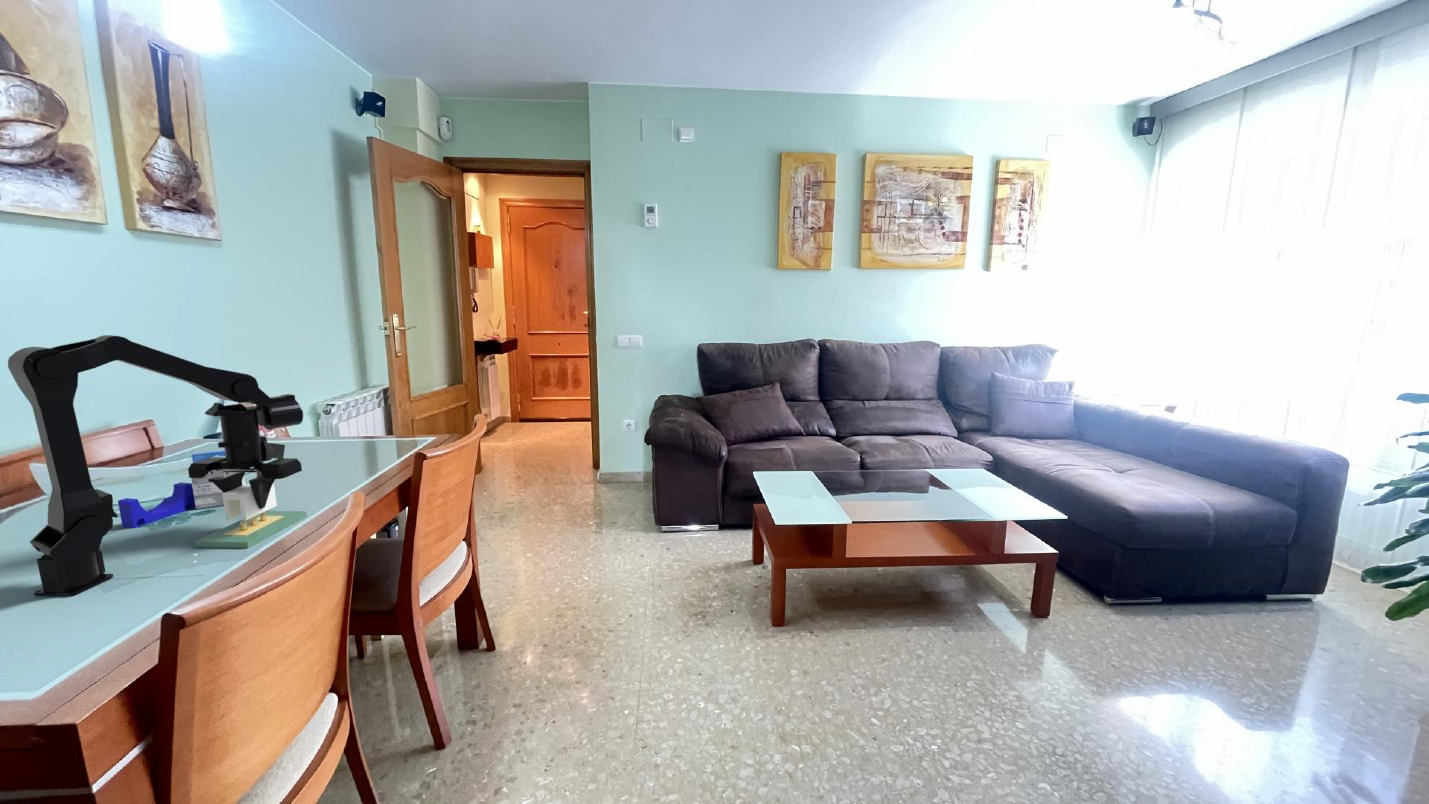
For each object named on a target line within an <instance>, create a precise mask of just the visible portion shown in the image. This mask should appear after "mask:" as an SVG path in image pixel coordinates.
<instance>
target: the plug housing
mask: <svg viewBox="0 0 1429 804" xmlns="http://www.w3.org/2000/svg"><path fill="white" fill-rule="evenodd" d="M222 496H223V503H224V505H223V508H224V510H223V511H224V515H225V517H224V518H225V520H226V521H231V520H233V519H235V518H238V517H240V516H241V520H248V519H250V518H252V517H254V516H256V515H258V514H260V513H263V512H265V511H270V510H271V509H274V508H275V507H277V506H278V504H277V496H276V490H275V482H274V483H273V485H272V487H271V489H270V493H269V496H268V499H267V502H266V505H265V507H264V508H262V509H259V507H258V505H257V503H256V500H255V498H254V495H253V492H252V489H251V486H250V483H249V482H248V483H245V485H243V486H240V487H238V488H235V489H233V490H230V491H228V492H225V493H223V494H222Z"/></svg>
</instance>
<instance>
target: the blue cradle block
mask: <svg viewBox="0 0 1429 804" xmlns="http://www.w3.org/2000/svg"><path fill="white" fill-rule="evenodd" d="M117 503H118V509H119V515H120V520H121V525H122V526H121V527H122V528H127V529H128V528H129V529H137V528H139V527H142V526H144V525H148V524H152V523H154V522H157V521H160V520H163V519H166V518H169V517H172V516H174V515H178V514H181V513H183V512H186V511H190V510H193V509H196V506H195V500H194V493H193V486H192V482H191V483H190V482H177V483H175V484H173V491H172V495H171V496H168V497H164V498H163V500H162V501H161V502H160V503H159V504H158V505H156V506H154V507H153V508H151V509H148V510H146V509H144V508H143V506H142V505H141V503H140V501H139V499H137V498H129V497H128V498H126V497H125V498H122V499H119V500H117ZM153 521H154V522H153Z"/></svg>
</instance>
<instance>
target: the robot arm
mask: <svg viewBox="0 0 1429 804" xmlns="http://www.w3.org/2000/svg"><path fill="white" fill-rule="evenodd" d="M115 361H118V362H121V363H123V364H127V365H131V366H134V367H136V368H140V369H143V370H146V371H148V372H152V373H157V374H159V375H163V376H165V377H168V378H169V377H170V378H171V379H176V380H179V381H182V382H185V383H187V384H190V385H192V386H194V387H196V388H198V389H199V390H201V391H202V392H205V393H207V394H209V395H210V396H212V397H215V398H217V399H219V400H224V401H228V402H229V401H231V402H235V403H236V404H235V403H234V404H227V405H224V404H223V403H221V402H220V403H219V402H214V403H213V404H212V406H211V407H210V408H208V409H206V411H205V412H204V415H206V416H209V417H210V416H211V417H215V418H216V417H217V418H218V417H219V420H220V421H219V422H220V426H221V435H222V441H219V442H217V445H218V448H221V449H224V451H225V456H226V458H225V456H219V457H218V456H217V457H216V456H215V457H210V458H207V459H204V460H201V461H197V462H194V463H193V462H192V463H191V464H190V465H189V467H188V468H187V471H188V478H189V479H191V478H204V477H206V476H207V475H208V472H211V478H210V479H208V481H209V482H212V483H214V484H215V485H216V486H217V487H218V488H219V489H220V490H221V491H222V492H223V493H225V492H228V491H230V490H233V489H235V488H238V487H240V486H242V479H243V477H244V478H245V474H246V473H256V477H254V478H252V479H249V480H248V483H250V486H251V489H252V492H253V495H254V498H255V500H256V503H257V505H258V507H259V509H262V508H264V507H265V505H266V502H267V499H268V496H269V493H270V489H271V487H272V485H273V483H274V484H275V481H276V480H281V479H285V478H288V477H290V476H293V475H295V474H297V473H300V472H302V471H303V469H302V468H303V467H302V462H301V461H300V460H299V459H298V458H295V457H294V458H293V457H292V458H285V457H284V456H285V450H286V444H284V443H283V444H280V443H273V442H268V440H267V437H266V435H261V433H260V427H263V428H264V429H266V430H268V431H269V430H275V429H281V428H286V427H287V428H288V427H292V426H298V425H301V424H302V422H303V419H304V411H303V409H302V408H301V405H300V403H299V402H298V401H297V400H296V395H295V394H292V393H291V394H290V393H287V394H286V393H285V394H281V395H277V396H272V397H271V396H269V395H268V394H267V393H265V392H264V391H263V390H262V389H261V388H260V387H259V383H258V380H257V378H256V377H254V376H252V375H250V374H248V373H243V372H236V371H231V370H227V369H226V370H225V369H221V368H214V367H210V366H206V365H205V366H204V365H202V364H199V363H195V362H193V361H191V360H187V359H185V358H181V357H178V356H175V355H173V354H170V353H166V352H163V351H161V350H158V349H155V348H152V347H149V346H147V345H143V344H141V343H136V342H134V341H131V340H130V339H128V338H127V337H124V336H121V335H112V334H111V335H110V334H105V335H101V336H98V337H95V338H91V339H86V340H83V341H82V340H81V341H77V342H71V343H66V344H61V345H57V346H53V347H43V346H29V347H23V348H21V349H19V350H17V351H15V352H14V353H13V354H12V355H11V356H9V357H8V360H7V368H8V371H9V372H10V374H11V376H12V377H13V379H14V381H15V383H16V385H17V387H18V388H19V390H20V391H21V393H22V394H23V396H25V398H26V399H27V401H28V402H29V404H30V406H31V408H32V411H33V416H34V419H35V423H36V427H37V431H38V435H39V440H40V442H41V443H40V444H41V448H42V452H43V457H44V459H45V464H46V468H47V472H48V476H49V479H50V484H51V494H50V498H49V501H48V504H47V524H45V526H44V527H43V528H42V529H41V530H40V531H39V532H38V533H37V534H36V535H35V536H34V537H33V538H32V539H31V540H29V541H30V542H29V543H30V545H31V546H32V547H33V548H34V549H35V550H36V551H37V552H38V553H41V554H42V555H41V557H39V558H37V559H36V563H37V567H38V573H39V577H40V581H41V587H42V588H39V589H38V590H35V591H33V595H34V596H75V595H77V594H79V593H81V592H84V591H86V590H88V589H90V588H93V587H94V586H97V585H99V584H100V583H103V582H106V581H107V580H110V579H112V578H113V577H114V573H106V565H105V561H104V556H103V551H102V550H100V548H101V544H102V541H103V538H104V537H105V536H106V535H107V534H108V533H109V532H110V531H111V530H112V529H113V526H114V518H116V519H117V518H118V517H119V515H118V514H117V513H116V512H115V510H114V506H113V503H114V499H113V495H112V494H111V493H108V492H106V491H103V490H101V489H98V488H94V486H93V484H92V479H91V476H90V471H89V467H88V462H87V459H86V454H85V453H86V452H85V449H84V445H83V442H82V436H81V432H80V427H79V423H78V419H77V415H76V411H75V406H74V402H75V401H74V400H75V398H76V393H77V390H78V387H79V386H78V385H79V374H81V373H82V372H83V373H84V372H86V371H90V370H93V369H96V368H99V367H101V366H105V365H107V364H109V363H112V362H115ZM242 403H247V404H252V406H245V405H244V404H242ZM273 459H274V460H273ZM271 460H272V461H271Z"/></svg>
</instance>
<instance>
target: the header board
mask: <svg viewBox="0 0 1429 804" xmlns="http://www.w3.org/2000/svg"><path fill="white" fill-rule="evenodd" d="M307 515H308V514H307V511H301V510H297V511H296V510H294V511H293V510H267V511H265V512H263V513H260V514H258V515H256V516H254V517H252V518H250V519H248V520H242V519H241V520H238V521H236V522H234V523H232V524H229V525H227V526H225V527H222V528H221V529H219V530H217V531H215V532H213V533H211V534H209V535H206V536H203V537H202V538H199V539H198V540H195V541H194V544H195V548H201V549H202V548H206V549H207V548H209V549H210V548H215V549H216V548H217V549H219V548H220V549H226V548H227V549H230V548H231V549H249V548H252V546H255V545H256V544H259V543H261V542H262V541H264V540H265V539H267V538H269V537H271V536H273V535H276V534H277V533H278V532H281V531H282V530H285V529H286V528H288V527H290V526H292V525H294V524H296V523H298V522H299V521H301V520H303V519H305V518H307Z"/></svg>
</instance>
